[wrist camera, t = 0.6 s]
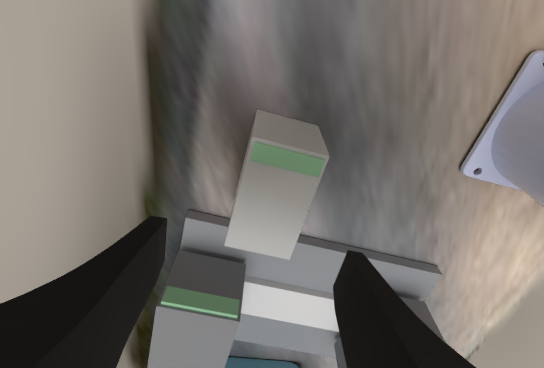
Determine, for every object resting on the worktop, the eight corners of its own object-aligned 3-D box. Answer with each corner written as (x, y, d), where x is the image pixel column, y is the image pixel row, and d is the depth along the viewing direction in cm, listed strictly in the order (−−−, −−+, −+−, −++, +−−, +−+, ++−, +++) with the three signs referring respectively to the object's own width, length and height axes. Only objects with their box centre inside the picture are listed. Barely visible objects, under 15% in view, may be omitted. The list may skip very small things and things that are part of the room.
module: (317, 125, 21) (330, 157, 16) (286, 213, 24) (289, 261, 19) (257, 108, 20) (251, 137, 16) (233, 201, 23) (223, 247, 19)
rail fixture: (436, 265, 26) (483, 339, 20) (375, 355, 31) (398, 434, 26) (188, 209, 23) (160, 275, 18) (169, 317, 29) (143, 394, 23)
